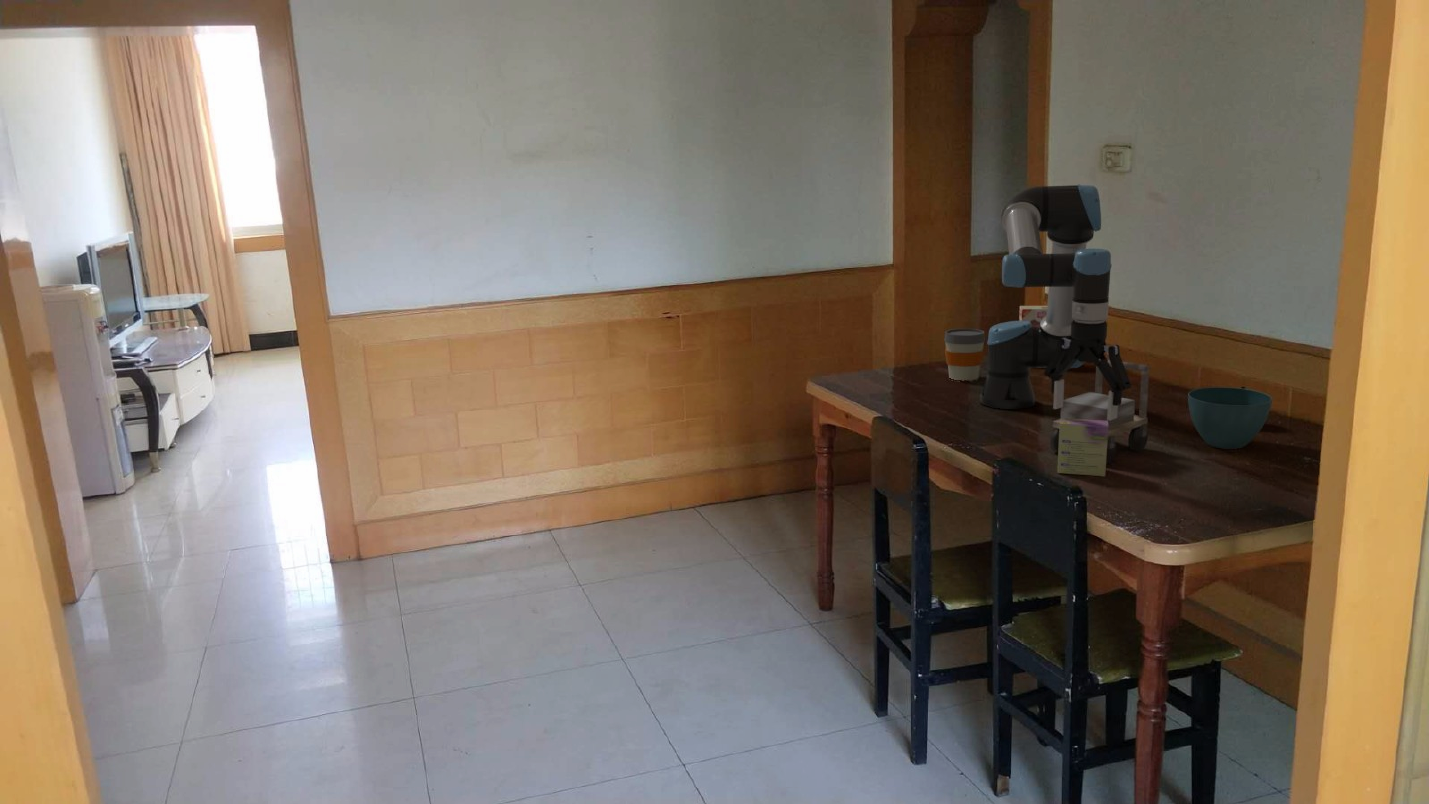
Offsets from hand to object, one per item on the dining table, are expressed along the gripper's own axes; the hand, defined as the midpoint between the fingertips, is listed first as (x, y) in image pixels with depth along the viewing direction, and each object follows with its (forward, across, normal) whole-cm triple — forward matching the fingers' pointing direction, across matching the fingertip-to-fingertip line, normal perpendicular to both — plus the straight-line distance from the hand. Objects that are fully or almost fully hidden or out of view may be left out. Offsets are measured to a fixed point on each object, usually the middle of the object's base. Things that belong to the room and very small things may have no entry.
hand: (1084, 413), depth 237 cm
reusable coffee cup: (+15, -79, +57) cm, 98 cm away
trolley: (+14, -6, +16) cm, 22 cm away
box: (+14, 0, 0) cm, 14 cm away
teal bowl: (+14, +12, +42) cm, 46 cm away
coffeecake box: (+16, -73, +90) cm, 117 cm away
